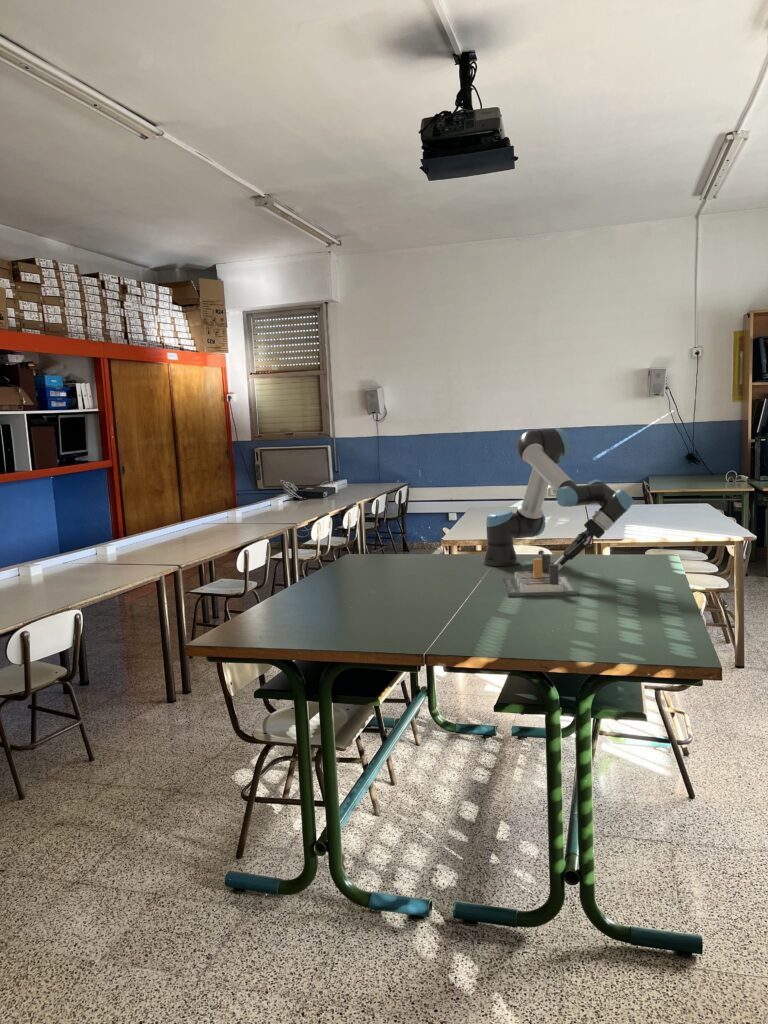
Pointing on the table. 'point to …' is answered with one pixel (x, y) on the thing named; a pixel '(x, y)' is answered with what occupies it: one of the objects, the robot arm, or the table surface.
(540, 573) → the breaker handle
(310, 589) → the table surface
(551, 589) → the breaker panel
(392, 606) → the table surface
